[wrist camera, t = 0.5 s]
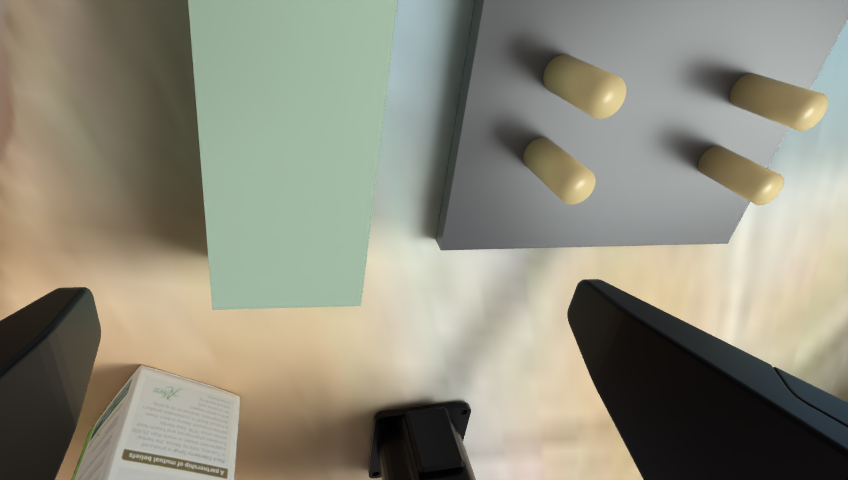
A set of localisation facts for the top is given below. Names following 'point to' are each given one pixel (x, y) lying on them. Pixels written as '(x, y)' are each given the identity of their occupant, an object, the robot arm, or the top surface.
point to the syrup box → (163, 432)
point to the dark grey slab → (627, 118)
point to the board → (289, 145)
